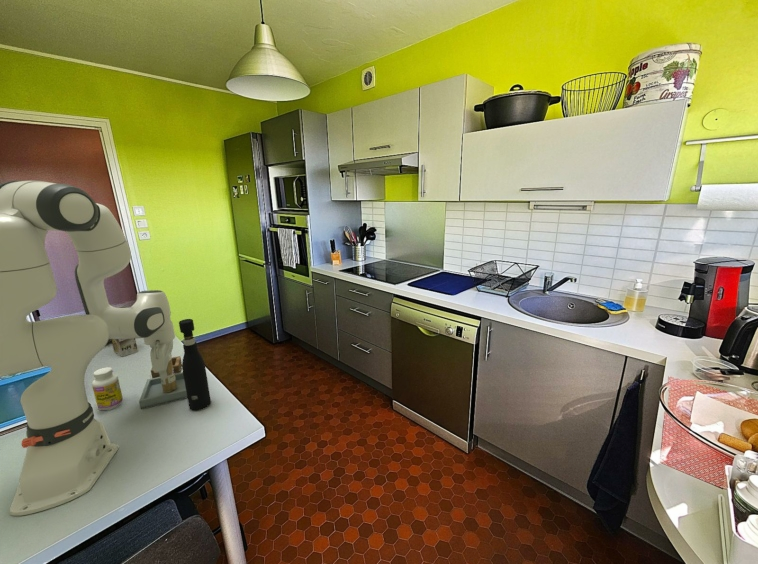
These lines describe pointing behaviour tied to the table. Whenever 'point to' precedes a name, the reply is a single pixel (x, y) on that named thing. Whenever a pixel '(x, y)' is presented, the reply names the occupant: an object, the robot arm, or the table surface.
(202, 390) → the black water bottle
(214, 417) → the table surface
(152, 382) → the slate tray
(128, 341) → the coffee box
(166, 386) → the sprinkles bottle
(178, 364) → the walnut collar
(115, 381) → the supplement bottle
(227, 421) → the table surface
